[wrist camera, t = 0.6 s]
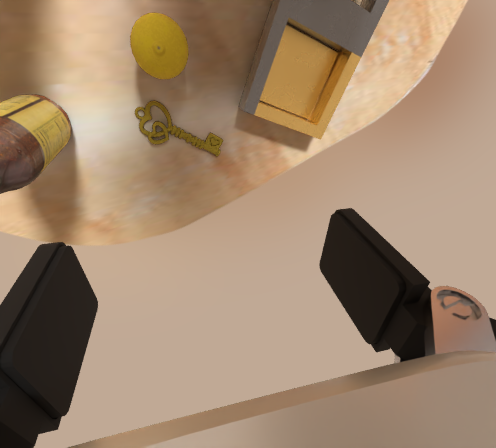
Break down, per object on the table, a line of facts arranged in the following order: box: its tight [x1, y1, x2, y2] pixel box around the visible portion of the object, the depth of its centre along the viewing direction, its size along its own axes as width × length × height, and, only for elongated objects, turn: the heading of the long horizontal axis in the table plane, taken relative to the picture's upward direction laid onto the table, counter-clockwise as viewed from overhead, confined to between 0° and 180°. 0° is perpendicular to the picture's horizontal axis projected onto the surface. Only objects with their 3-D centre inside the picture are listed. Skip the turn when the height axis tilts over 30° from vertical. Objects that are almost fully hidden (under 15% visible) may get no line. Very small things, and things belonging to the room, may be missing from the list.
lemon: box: [130, 13, 188, 79], centre depth 26 cm, size 6×6×8 cm
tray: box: [238, 0, 389, 139], centre depth 30 cm, size 25×12×3 cm, turn 159°
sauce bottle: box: [0, 94, 71, 194], centre depth 23 cm, size 6×6×20 cm
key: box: [135, 101, 223, 157], centre depth 35 cm, size 12×1×5 cm
